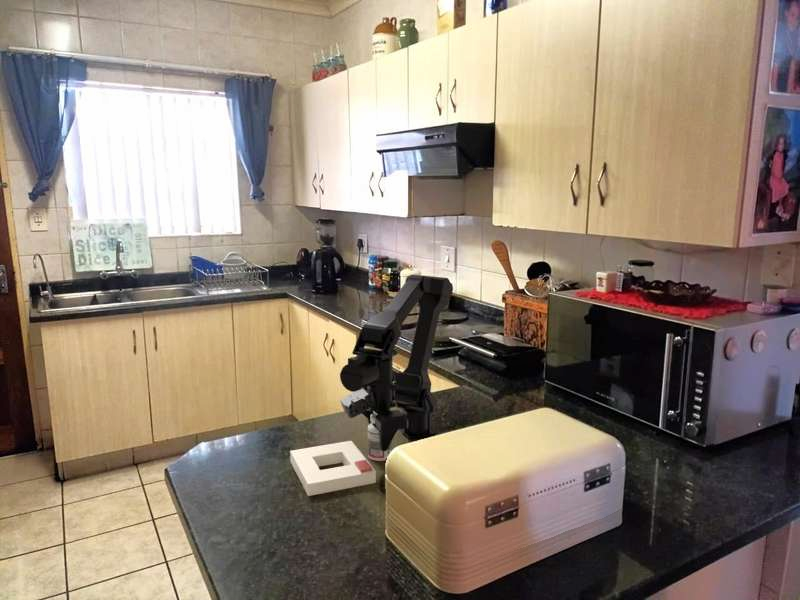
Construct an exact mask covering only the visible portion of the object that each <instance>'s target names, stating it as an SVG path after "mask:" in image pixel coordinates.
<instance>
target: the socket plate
mask: <svg viewBox="0 0 800 600" xmlns="http://www.w3.org/2000/svg"><path fill="white" fill-rule="evenodd" d="M289 455H290V456H289V461H290V463H291V464H290V465H292V467H293V470H294V471H295V473H296V476H297V477H298V479H299V481H300V483H301V485H302V487H303V489H304V491H305V493H306V495H307V496H308V497H310V496H315V495H321V494H325V493H332V492H336V491H340V490H341V491H342V490H346V489H351V488H357V487H362V486H366V485H371V484H376V483H377V471H376V470H375V468H374V467H373V465H372V464H371V463H370V462H369V461H368V459H367V458H366V456H365V455H363V453H362V452H361V450H360V449H359V448H358V447H357V446H356V444H355V443H354V442H353V441H352V440H346V441H341V442H335V443H329V444H324V445H323V444H322V445H317V446H311V447H306V448H305V447H304V448H299V449H298V448H297V449H294V450H289ZM341 463H342V466H336V467H331V468H326V469H320V467H324V466H325V467H326V466H329V465H330V466H331V465H335V464H341Z"/></svg>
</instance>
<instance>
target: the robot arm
mask: <svg viewBox="0 0 800 600" xmlns="http://www.w3.org/2000/svg"><path fill="white" fill-rule="evenodd" d="M453 292H454V287H453V283H452V282H450V279H449V278H448V277H444V276H433V275H431V276H430V275H424V274H423V275H421V274H419V275H418V274H409V275H408V276H407V277H406V279H405V283H404V284H402V287H401V288H400V289H399V290H398V292H397V293H396V295H395V296H394V297H393V298H392V300H391V301H390V302H389V303H388V304H387V306H386V307H385V309H383V310H382V311H381V312H380V313H376V314H373V315H372V316H371V317H370V318H369V319H368V320H367V321H366V322H365V323H364V324H363V325H362V327H361V329H360V332H359V334H358V337H357V340H356V342H355V345H354V347H353V350H352V355H355V356H351V357H348V359H347V364H345V365H344V366H343V367H342V368H341V370H340V373H339V378H340V379H339V381H340V382H341V385H342V386H343V387H344V389H346V390H347V391H349V392H351V393H349V394H347V395H345V396H343V397H342V398H340V400H339V402H340V403H341V407H342V408H343V409H342V410H343V411H344V414H346V415H347V417H348V418H350V419H353V418H355V417H357V416H360V415H363V416H365V418H366V421H367V424H368V425H369V424H370V423H371V420H370V416H371V414H372V413H375V414H376V415H377V416H376V417H375V423H374V424H372V425H373V426H374V427H375V428H376V429H377V430H379V437H380V444H381V449H382V451H387V449H388V447H389V445H390V443H391V442H392V443H393V439H394V437H395V435H396V434H397V432H398V431H401V432H402V433H403V434H404V435H405V436H406V437H407V438H408V439H416V438H421V437H425V436H426V437H427V436H431V435H432V436H433V435H434V431H432V430H431V414H433V413H435V410H436V409H437V403H438V400H437V398H436V397H435V396H434V394H433V393H432V392H431V390H432V382H431V378H430V375H429V372H428V370H429V366H430V362H431V361H430V360H431V355H432V352H433V351H432V350H433V346H434V342H435V337H436V332H437V327H438V322H439V317H440V314H441V313H442V312H443V311H444V310H445V309H446V307H448V305H449V303H450V299H451V296H452V294H453ZM416 305H418V308H419V313H418V318H417V322H416V327H415V330H414V336H413V340H412V345H411V350H410V355H409V358H408V359H409V360H408V363H407V367H406V368H405V369H404V370H403V371H401V372H400V371H399V372H398V373H397V375H396V382H395V383H394V382H393V374H394V373H393V372H394V370H393V365H394V363H393V360H394V358H393V357H395V356H397V355H398V351H397V350H396V349H395V347H396V345H397V344H398V341H399V339H400V337H401V336H402V328H401V327H402V325H403V323H404V322H405V321H406V319H407V317H408V316H409V315H410V313H411V312H412V310H413V309H414V308H415V307H416ZM393 398H394V400H393ZM392 408H398V409H395V410H391V409H392ZM400 409H401V411H400ZM368 425H367V426H368Z"/></svg>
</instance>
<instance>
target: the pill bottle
mask: <svg viewBox="0 0 800 600" xmlns="http://www.w3.org/2000/svg"><path fill="white" fill-rule="evenodd" d="M376 416H377V415H376V414H375V413H372V414H371V416H370V420H371V423H370V424H369V425H367V457H368V458H369V459H370V460H372V461H377V462H378V461H379V462H384V461H387V460H386V458H387V456H388V454H389V453H390V451H391V450H393V447H392V446H393V444H392V443H393V441H392V442H391V443H390V445H389V447H388V449H387V451H382V449H381V444H380V437H379V430H377V429H376V428H375V427H374V426H373V425H372V424H374V423H375V417H376Z"/></svg>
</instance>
